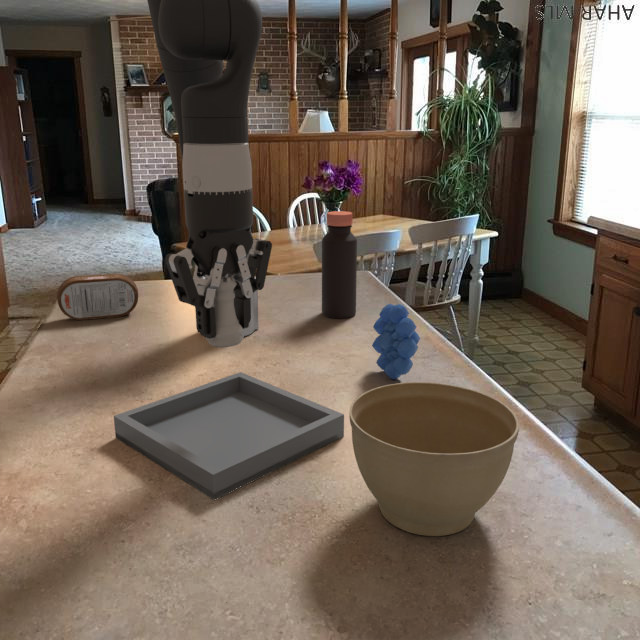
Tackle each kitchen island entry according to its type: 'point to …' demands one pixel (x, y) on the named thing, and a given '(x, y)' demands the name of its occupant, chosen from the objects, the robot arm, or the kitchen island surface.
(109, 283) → the tin
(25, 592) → the kitchen island surface
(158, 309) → the kitchen island surface
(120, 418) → the tray
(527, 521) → the kitchen island surface
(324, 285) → the bottle
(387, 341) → the grapes
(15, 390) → the kitchen island surface
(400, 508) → the planter bowl
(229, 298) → the rook chess piece
